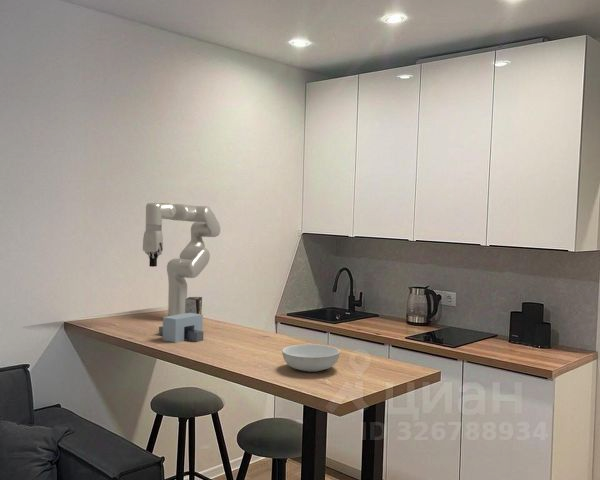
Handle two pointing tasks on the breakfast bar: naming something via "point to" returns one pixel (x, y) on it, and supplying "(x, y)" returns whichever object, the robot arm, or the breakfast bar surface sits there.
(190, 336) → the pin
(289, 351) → the serving bowl
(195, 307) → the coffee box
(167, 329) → the cross-hole block
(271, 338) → the breakfast bar surface
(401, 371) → the breakfast bar surface
